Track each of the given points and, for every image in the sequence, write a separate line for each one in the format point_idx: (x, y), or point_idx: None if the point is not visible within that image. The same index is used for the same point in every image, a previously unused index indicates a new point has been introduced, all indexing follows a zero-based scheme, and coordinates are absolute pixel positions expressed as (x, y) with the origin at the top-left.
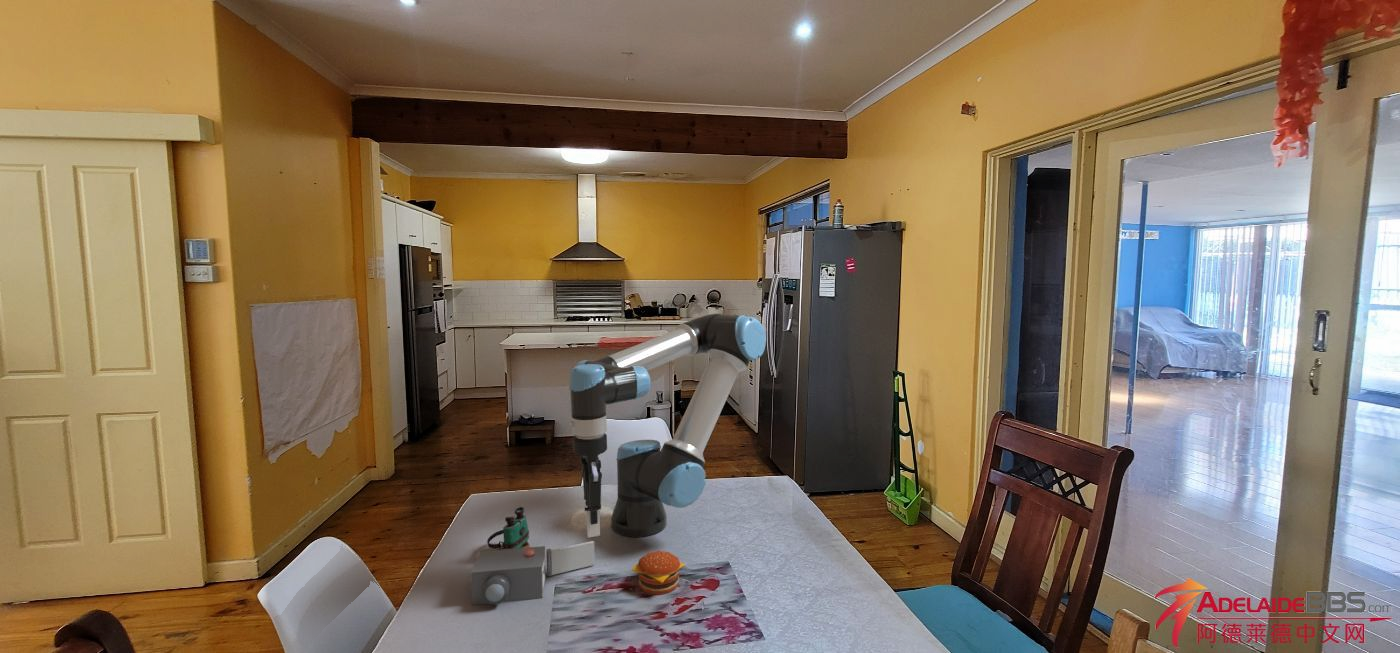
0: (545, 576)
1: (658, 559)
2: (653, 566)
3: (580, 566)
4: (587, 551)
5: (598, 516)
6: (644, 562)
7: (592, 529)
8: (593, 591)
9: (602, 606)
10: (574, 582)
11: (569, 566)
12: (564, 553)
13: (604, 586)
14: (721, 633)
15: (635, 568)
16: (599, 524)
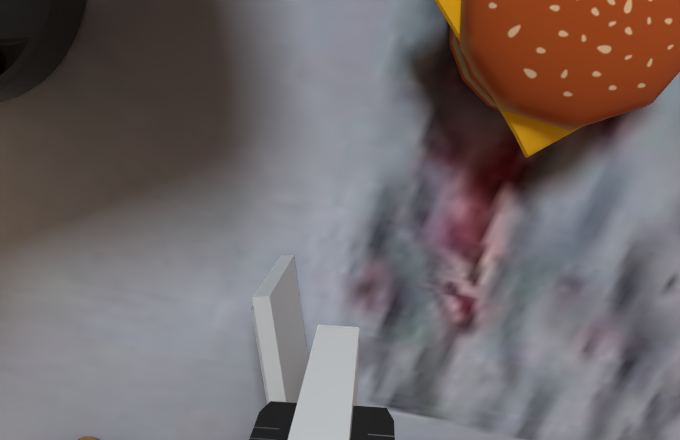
0: None
1: (650, 8)
2: (671, 57)
3: (299, 313)
4: (283, 311)
5: (351, 421)
6: (599, 96)
7: (355, 398)
8: (478, 296)
9: (595, 290)
10: (385, 344)
11: (304, 360)
12: None
13: (461, 251)
14: None
15: (541, 137)
16: (354, 372)
